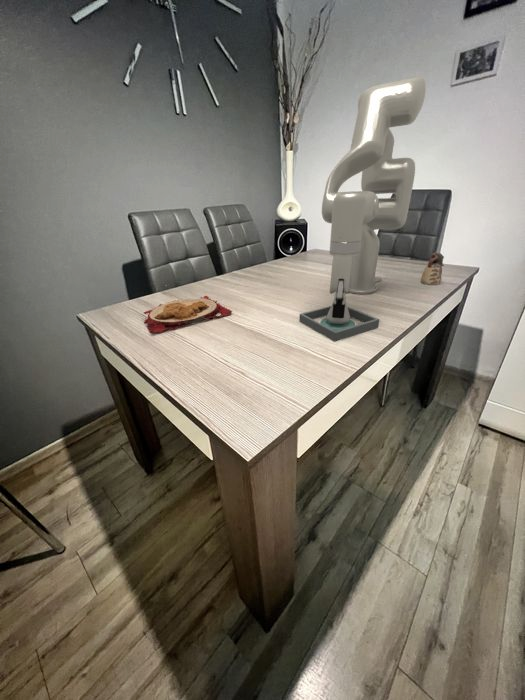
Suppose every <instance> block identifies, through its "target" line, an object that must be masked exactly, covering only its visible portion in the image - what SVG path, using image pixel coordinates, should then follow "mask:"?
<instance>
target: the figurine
mask: <svg viewBox="0 0 525 700" xmlns="http://www.w3.org/2000/svg"><path fill="white" fill-rule="evenodd" d="M431 256H432V257H431V258H429V260H428V263H427V265H426V267H425V268H424V271H423V272H422V275H421V278H420V282H422V283H421V284H423V283H424V284H423V285H426V284H430V285H429V286H438V285H437V284H439V285H440V284H441V281H442V276H443V275H442V272H443V268H442V267H444V265H445V264H444V262H443V261H444V258H445V256H444V255H443V254H442V253H441V252H433V253H431Z"/></svg>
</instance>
